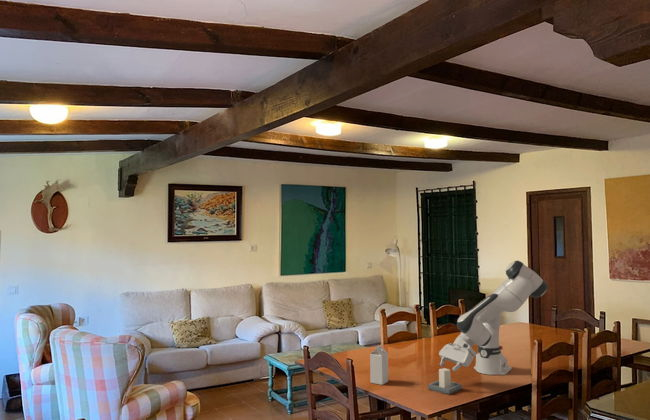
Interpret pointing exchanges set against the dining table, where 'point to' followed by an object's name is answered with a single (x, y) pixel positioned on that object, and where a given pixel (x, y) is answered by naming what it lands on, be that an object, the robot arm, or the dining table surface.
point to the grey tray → (453, 389)
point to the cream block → (444, 378)
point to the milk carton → (379, 366)
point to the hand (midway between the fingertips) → (447, 368)
